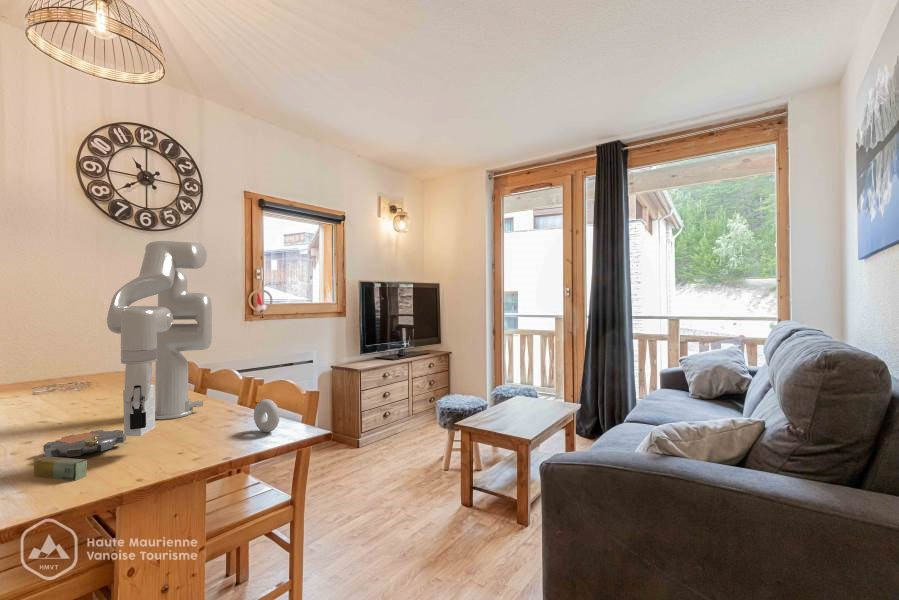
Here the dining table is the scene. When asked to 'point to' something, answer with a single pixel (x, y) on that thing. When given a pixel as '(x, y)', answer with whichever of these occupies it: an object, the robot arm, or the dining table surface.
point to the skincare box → (149, 415)
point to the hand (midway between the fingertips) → (139, 423)
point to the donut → (272, 414)
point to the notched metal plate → (84, 443)
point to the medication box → (60, 468)
